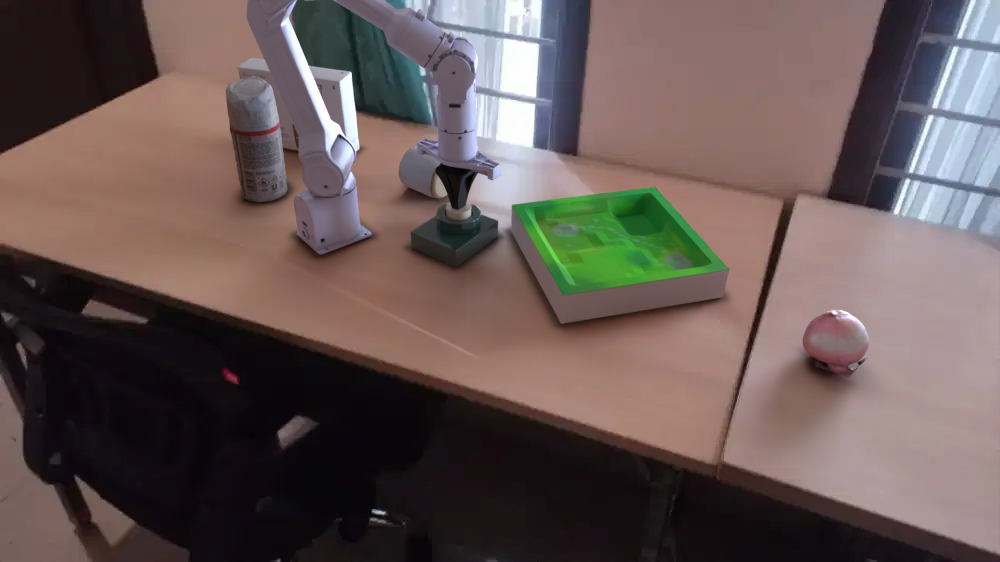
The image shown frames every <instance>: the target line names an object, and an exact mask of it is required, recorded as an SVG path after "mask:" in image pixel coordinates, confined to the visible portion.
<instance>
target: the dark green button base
mask: <svg viewBox="0 0 1000 562" xmlns="http://www.w3.org/2000/svg"><path fill="white" fill-rule="evenodd" d="M448 203H449V202H447V203H444V204H443V205H441V206H439V207H438V208H437V210H436V214H435V215H434V216H433V217H431V218H430V219H428V220H427V221H425V222H423V223H422V224H421V225H419V226H417V227H416V228H414V229H413V230H411V231H410V242H411V244H410V245H411V248H412V249H414V250H415V251H418V252H420V253H423V254H425V255H427V256H429V257H432V258H434V259H437V260H439V261H441V262H444V263H446V264H448V265H451V266H453V267H455V268H456V267H458V266H460V265H461V264H462V263H464V262H465V261H467V260H468V259H469V258H470V257H472V256H473V255H475V254H476V253H477V252H479V251H480V250H481V249H483V248H484V247H486V246H487V245H488V244H489V243H492V241H493V240H495V239H497V238H498V237H499V220H497V219H495V218H492V217H490V216H487V215H485V214H482V210H481V209H480V208H479V207H478V205H477V204H473V203H472V202H471V203H470V202H469V203H470V204H471V217H470V218H468V219H465V220H452V219H450V218H447V217H446V205H447V204H448Z"/></svg>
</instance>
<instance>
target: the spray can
mask: <svg viewBox="0 0 1000 562" xmlns="http://www.w3.org/2000/svg"><path fill="white" fill-rule="evenodd" d="M225 97H226V109H227V116H228V123H229V133H230V136H231V142H232V147H233V152H234V160H235V163H236V171H237V175H238V181H239V184H240V195H241V197H242V198H243V199H244V200H247V201H249V202H253V203H265V202H272V201H276V200H278V199H280V198H282V197H284V196H286V194H287V192H288V190H289V189H288V185H287V174H286V164H285V155H284V154H285V153H284V148H283V146H282V138H281V131H280V122H279V116H278V112H277V107H276V102H275V98H274V94H273V89H272V87H271V85H269V84H268V83H267V82H266V81H264V80H263V79H261V78H259V77H255V76H252V77H248V78H245V79H240V78H239V79H238V80H236V81H231V82H229V83H228V84H227V87H226V88H225Z"/></svg>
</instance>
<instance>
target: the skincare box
mask: <svg viewBox="0 0 1000 562" xmlns="http://www.w3.org/2000/svg"><path fill="white" fill-rule="evenodd" d="M308 66H309V68H310V71H311V73H312V76H313V78H314V80H315V83H316V85H317V88H318V90H319V92H320V95H321V97H322V100H323V102H324V105H325V107H326V109H327V112H328V114H329V117H330V119H331V120H332V121H333V122H335V123H337V124H338V125H339V126H340V128H341V131H342V133H343V134H344V135H345V137H346V138H348V139H349V140H350V141H351V142H352V144H353V145H354V147H355V150H356V152H357V151H359V150H360V143H359V141H360V140H359V134H358V133H359V132H358V123H357V111H356V105H355V104H356V102H355V96H354V86H353V76H352V71H348V70H341V69H336V68H335V69H334V68H327V67H318V66H313V65H308ZM236 67H237V71H238V76H239V79H245V78H248V77H252V76H255V77H259V78H261V79H263V80H264V81H266V82H267V83H268V84H269V85H271V87H272V89H273V94H274V98H275V102H276V107H277V112H278V116H279V122H280V131H281V138H282V146H283V149H286V150H292V151H297V152H299V137H298V134H297V131H296V129H295V127H294V125H293V122H292V120H291V118H290V116H289V113H288V111H287V109H286V107H285V104H284V102H283V100H282V98H281V95H280V93H279V91H278V89H277V86H276V84H275V82H274V80H273V77H272V75H271V73H270V71H269V68H268V66H267V64H266V62H265V59H264V58H257V57H249V58H248V59H246V60H245V61H243V62H242V63H241V64H239V65H238V66H236Z"/></svg>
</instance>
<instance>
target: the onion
mask: <svg viewBox="0 0 1000 562" xmlns="http://www.w3.org/2000/svg"><path fill="white" fill-rule="evenodd" d="M802 347H803V350H805V352H806V353H807V354H808V355H809V356H811V357H812V360H813V363H814V365H815V367H817V368H820V369H822V370H826V371H828V372H832V373H835V374H838V375H840V376H843V377H848V378H850V377H851V376H852V375H853V373H855V371H857V370H858V368H859V367H860V366H861V365H862V364H863V363H864V362H865V361H866V360H868V358H869V357H868V356H867V357H865V355H866V353H867V351H868V350H869V347H870V339H869V334H868V332H867V329H866V328H865V326H864V324H863V323H862V322H861V320H859V319H858V318H857V317H855V316H854V315H852V314H850V313H849V312H848V311H845V310H842V309H830V310H828V311H827V310H826V311H825V312H823V313H821V314H819V315H817V316H816V317H814V318H813V319H812V320H811V321H810V322H809V323H808V325H807V327H805V331H804V333H803V335H802ZM856 363H857V366H856V368H852V367H849V366H851V365H853V364H856Z"/></svg>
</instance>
